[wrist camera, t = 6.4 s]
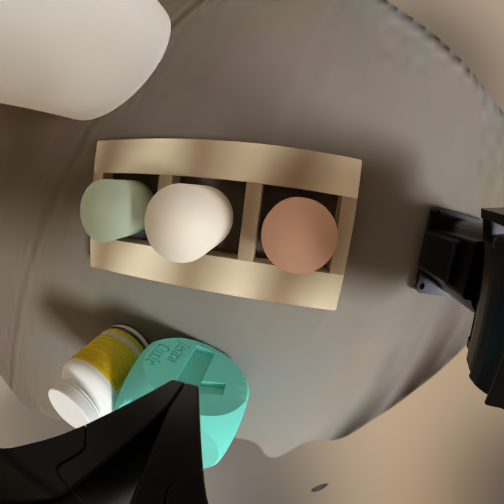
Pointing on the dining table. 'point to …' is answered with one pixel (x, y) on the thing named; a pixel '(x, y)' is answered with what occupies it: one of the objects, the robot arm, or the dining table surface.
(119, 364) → the supplement bottle
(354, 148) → the dining table surface
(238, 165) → the three-slot wooden rack
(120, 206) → the button sage
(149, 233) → the button cream
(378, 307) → the dining table surface
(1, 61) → the canister
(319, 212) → the button terracotta
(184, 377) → the turquoise rounded piece
